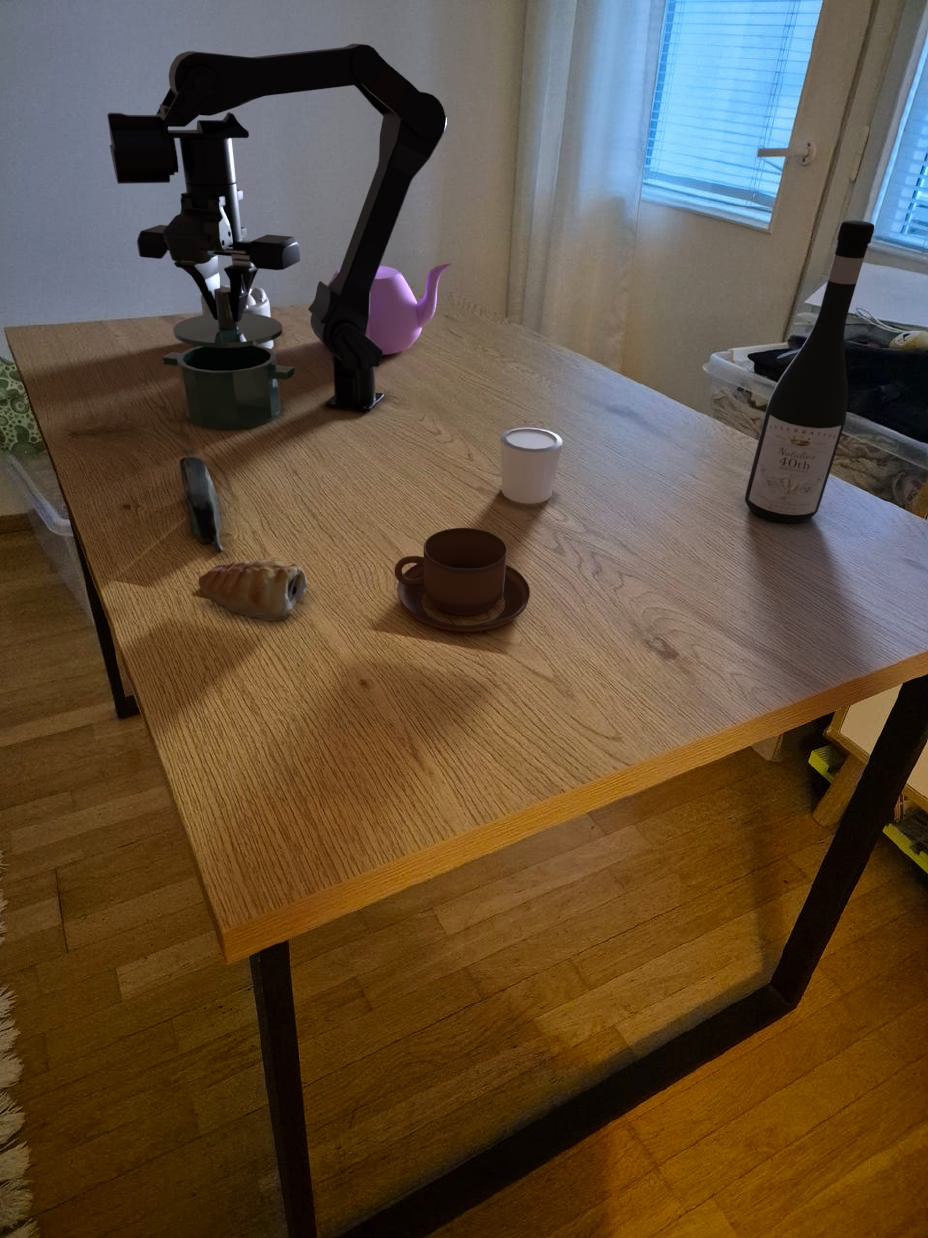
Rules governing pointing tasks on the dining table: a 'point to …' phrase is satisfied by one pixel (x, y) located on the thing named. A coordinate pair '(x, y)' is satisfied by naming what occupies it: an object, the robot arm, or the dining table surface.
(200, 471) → the black long curved piece
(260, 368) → the pot
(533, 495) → the white lidded cup
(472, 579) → the cup and saucer
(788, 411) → the wine bottle
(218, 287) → the robot arm
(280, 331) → the lid
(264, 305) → the lumpy-topped squat cylinder
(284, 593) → the pastry
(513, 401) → the dining table surface
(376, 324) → the teapot
